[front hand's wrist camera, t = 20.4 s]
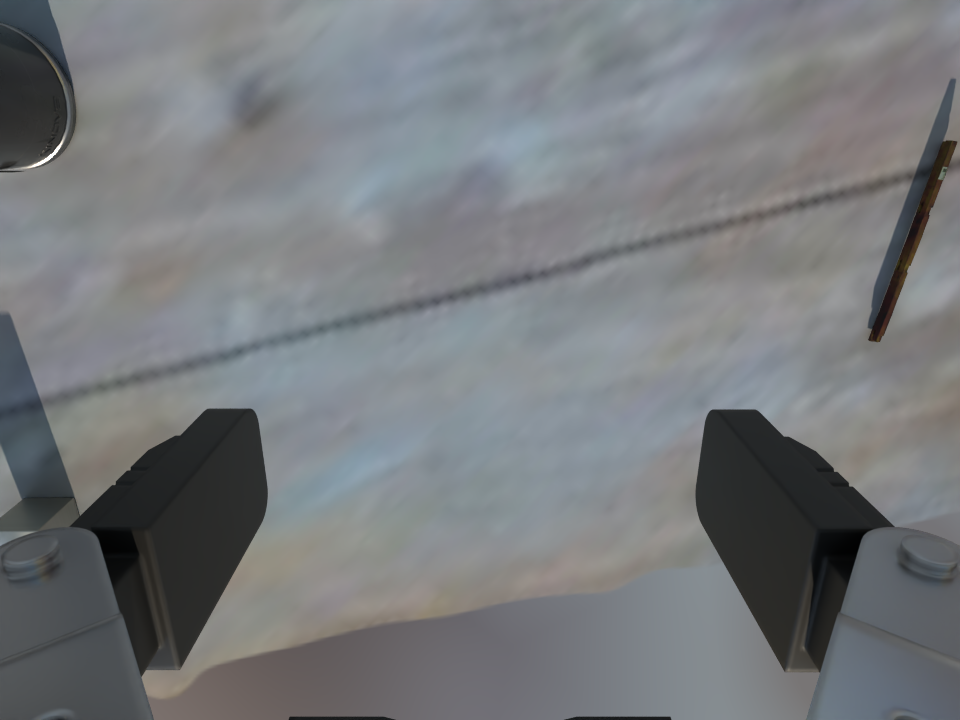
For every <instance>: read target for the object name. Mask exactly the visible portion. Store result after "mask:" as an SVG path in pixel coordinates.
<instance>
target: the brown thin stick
mask: <svg viewBox="0 0 960 720" xmlns="http://www.w3.org/2000/svg"><path fill="white" fill-rule="evenodd" d="M956 144H957V142H956V141H945V142H943V143H942V145H941V147H940V150H939V153H938V156H937V158H936V161H935V163H934V166H933V169H932V172H931V174H930V177H929V179H928V182H927V185H926V188H925V190H924V192H923V195H922V198H921V201H920V204H919V206H918V209H917V212H916V215H915V217H914V220H913V223H912V225H911V228H910V231H909V234H908V237H907V239H906V242H905V244H904V247H903V249H902V252H901V255H900V257H899V260H898V262H897V265H896V268H895V270H894V273H893V276H892V278H891V281H890V284H889V287H888V289H887V292H886V294H885V297H884V300H883V303H882V306H881V308H880V311H879V313H878V316H877V318H876V321H875V323H874V326H873V329H872V331H871V334H870V337H869V339H868V340H869V341H874V342H880V340H881V338H882V336H884V334H885V331H886V328H887V326H888V323H889V321H890V318H891V316H892V313H893V310H894V308H895V305H896V302H897V299H898V297H899V295H900V292H901V289H902V287H903V284H904V281H905V278H906V276H907V270H908V267H909V266H911V263H912V260H913V258H914V256H915V253H916V250H917V248H918V245H919V243H920V240H921V238H922V235H923V232H924V229H925V227H926V224H927V222H928V219H929V212H930V210H931V208H932V207H933V205H934V203H935V200H936V197H937V195H938V192H939V189H940V186H941V184H942V181H943V179H944V177H945V175H946V172H947V169H948V165H949V163H950V160H951V157H952V155H953V153H954V150H955V147H956Z"/></svg>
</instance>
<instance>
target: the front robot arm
mask: <svg viewBox="0 0 960 720" xmlns="http://www.w3.org/2000/svg"><path fill="white" fill-rule="evenodd" d="M75 123H76V105H75V99H74V94H73V91H72V88H71V85H70V82H69V80H68V78H67V76H66V74H65V72H64V70H63V68H62V67H61V65H60V64H59V62H58V61H57V60H56V58H55V57H54V56H53V55H52V53H51V52H50V51H49V50H48V49H47V48H46V47H45V46H44V45H43V44H42V43H40V42H39V41H38V40H37V39H35V38H34V37H32V36H31V35H29V34H28V33H26V32H24V31H22V30H20V29H18V28H16V27H14V26H11V25H8V24H4V23H0V170H2V169H12V170H20V169H32V168H37V167H41V166H44V165H46V164H48V163H50V162H52V161H53V160H55V159H56V158H57V157H59V156H60V155H61V154H62V153H63V151H64V150H65V149H66V148H67V146H68V144H69V143H70V140H71V138H72V136H73V133H74V129H75ZM0 172H22V171H0ZM267 498H268V489H267V480H266V473H265V466H264V458H263V451H262V444H261V437H260V429H259V423H258V418H257V415H256V413H255V412H254V410H252V409H207V410H205V411H204V412H203V413H202V414H201V415H200V416H199V417H198V418H197V419H196V420H195V421H194V422H193V423H192V424H191V425H190V426H189V427H188V428H187V429H186V430H185V431H184V432H183V433H182V434H181V435H180V436H174V437H172V438H170V439H168V440H166V441H165V442H163V443H161V444H159V445H157V446H155V447H153V448H152V449H150V450H148V451H147V452H146V453H145V454H144V455H143V456H142V457H141V458H140V459H139V460H138V461H137V462H136V463H135V464H134V465H133V466H132V467H131V470H130V471H126V472H125V473H124V474H123V475H122V476H121V477H120V478H119V479H118V480H117V481H116V485H112V486H111V487H110V488H109V489H108V490H107V491H106V492H105V493H104V494H103V495H101V496H100V497H99V498H98V499H97V500H96V501H95V502H94V503H93V504H92V505H91V506H90V507H89V508H88V509H87V510H86V511H85V512H84V513H83V514H82V515H81V516H80V517H79V518H78V519H77V520H76V521H75V522H74V523H72V524H71V525H70V526H69V527H60V528H51V529H46V530H41V531H37V532H34V533H30V534H27V535H24V536H21V537H18V538H16V539H14V540H11V541H9V542H7V543H5V544H3V545H1V546H0V720H154V718H153V715H152V712H151V708H150V705H149V702H148V698H147V695H146V692H145V688H144V685H143V682H142V678H141V677H142V675H143V674H144V672H145V670H180V669H181V667H182V665H183V664H184V662H185V660H186V658H187V656H188V655H189V653H190V651H191V649H192V647H193V646H194V644H195V642H196V640H197V638H198V637H199V635H200V633H201V631H202V629H203V628H204V626H205V624H206V622H207V620H208V619H209V617H210V615H211V613H212V611H213V610H214V608H215V606H216V604H217V602H218V601H219V599H220V597H221V595H222V593H223V592H224V590H225V588H226V586H227V584H228V583H229V581H230V579H231V577H232V575H233V574H234V572H235V570H236V568H237V566H238V565H239V563H240V561H241V559H242V557H243V556H244V554H245V552H246V550H247V548H248V547H249V545H250V543H251V541H252V539H253V538H254V536H255V534H256V532H257V530H258V529H259V527H260V525H261V523H262V521H263V519H264V516H265V512H266V507H267ZM696 506H697V512H698V516H699V519H700V522H701V524H702V526H703V527H704V529H705V531H706V533H707V534H708V536H709V538H710V540H711V542H712V543H713V545H714V547H715V549H716V550H717V552H718V554H719V556H720V558H721V559H722V561H723V563H724V565H725V566H726V568H727V570H728V572H729V574H730V575H731V577H732V579H733V581H734V582H735V584H736V586H737V588H738V589H739V591H740V593H741V595H742V597H743V598H744V600H745V602H746V604H747V605H748V607H749V609H750V611H751V613H752V614H753V616H754V618H755V620H756V621H757V623H758V625H759V627H760V629H761V630H762V632H763V634H764V636H765V638H766V639H767V641H768V643H769V645H770V646H771V648H772V650H773V652H774V653H775V655H776V657H777V659H778V661H779V662H780V664H781V666H782V668H783V670H784V671H785V672H820V675H819V678H818V682H817V685H816V688H815V692H814V695H813V698H812V702H811V705H810V708H809V712H808V715H807V719H806V720H960V546H959V545H957V544H955V543H953V542H951V541H949V540H946V539H944V538H942V537H939V536H936V535H933V534H930V533H926V532H923V531H919V530H914V529H909V528H900V527H894V526H893V525H892V524H891V523H890V522H889V521H888V520H887V519H886V518H885V517H884V516H883V515H882V514H881V513H880V512H879V511H878V510H877V509H876V508H874V507H873V506H872V505H871V504H870V503H869V502H868V501H867V500H866V499H865V498H864V497H863V496H862V495H861V494H860V493H859V492H858V491H857V490H856V489H855V488H854V487H849V483H848V482H847V481H846V480H845V479H844V478H843V477H842V476H841V475H840V474H839V473H838V472H834V468H833V467H832V466H831V465H830V464H829V463H827V462H826V461H825V460H824V459H823V458H822V457H821V456H820V455H819V454H818V453H817V452H816V451H814V450H812V449H810V448H809V447H807V446H805V445H803V444H801V443H799V442H797V441H796V440H794V439H792V438H790V437H784V436H783V435H782V434H781V433H780V432H779V431H778V430H777V429H776V428H775V427H774V426H773V425H772V424H771V423H770V422H769V421H768V420H767V419H766V418H765V417H764V416H763V415H762V414H761V413H760V412H759V411H757V410H711V411H710V412H709V413H708V415H707V417H706V421H705V426H704V433H703V440H702V447H701V454H700V462H699V469H698V476H697V483H696ZM289 720H394V719H390V718H386V717H289ZM566 720H671V717H574V718H570V719H566Z"/></svg>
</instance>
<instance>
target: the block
mask: <svg viewBox="0 0 960 720" xmlns="http://www.w3.org/2000/svg"><path fill="white" fill-rule="evenodd" d="M78 518H79V513H78V509H77V506H76V502H75V499H74V498H24V499H23V500H22V501H20V502H19V503H18V504H17V505H15V506H14V507H13V508H12V509H10V510H9V511H8V512H7V513H5V514H4V515H3V516H2V517H1V518H0V546H1V545H3V544H5V543H7V542H9V541H11V540H14V539H16V538H18V537H21V536H24V535H27V534H30V533H34V532H37V531H41V530H46V529H51V528H60V527H69V526H70V525H71V524H72V523H74V522H75V521H76V520H77V519H78Z"/></svg>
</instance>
